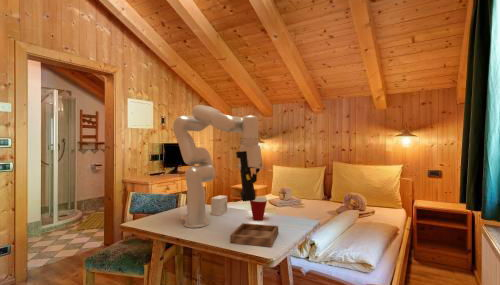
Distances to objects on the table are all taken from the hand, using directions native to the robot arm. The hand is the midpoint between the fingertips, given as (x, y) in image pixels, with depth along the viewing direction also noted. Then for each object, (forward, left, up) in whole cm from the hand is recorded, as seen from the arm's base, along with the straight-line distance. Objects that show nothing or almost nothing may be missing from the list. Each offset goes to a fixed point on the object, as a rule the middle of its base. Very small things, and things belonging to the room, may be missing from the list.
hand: (250, 182), depth 120 cm
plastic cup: (-4, +30, -26) cm, 40 cm away
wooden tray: (+2, 0, -25) cm, 25 cm away
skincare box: (-31, +37, -26) cm, 55 cm away
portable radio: (-1, +1, -8) cm, 8 cm away
